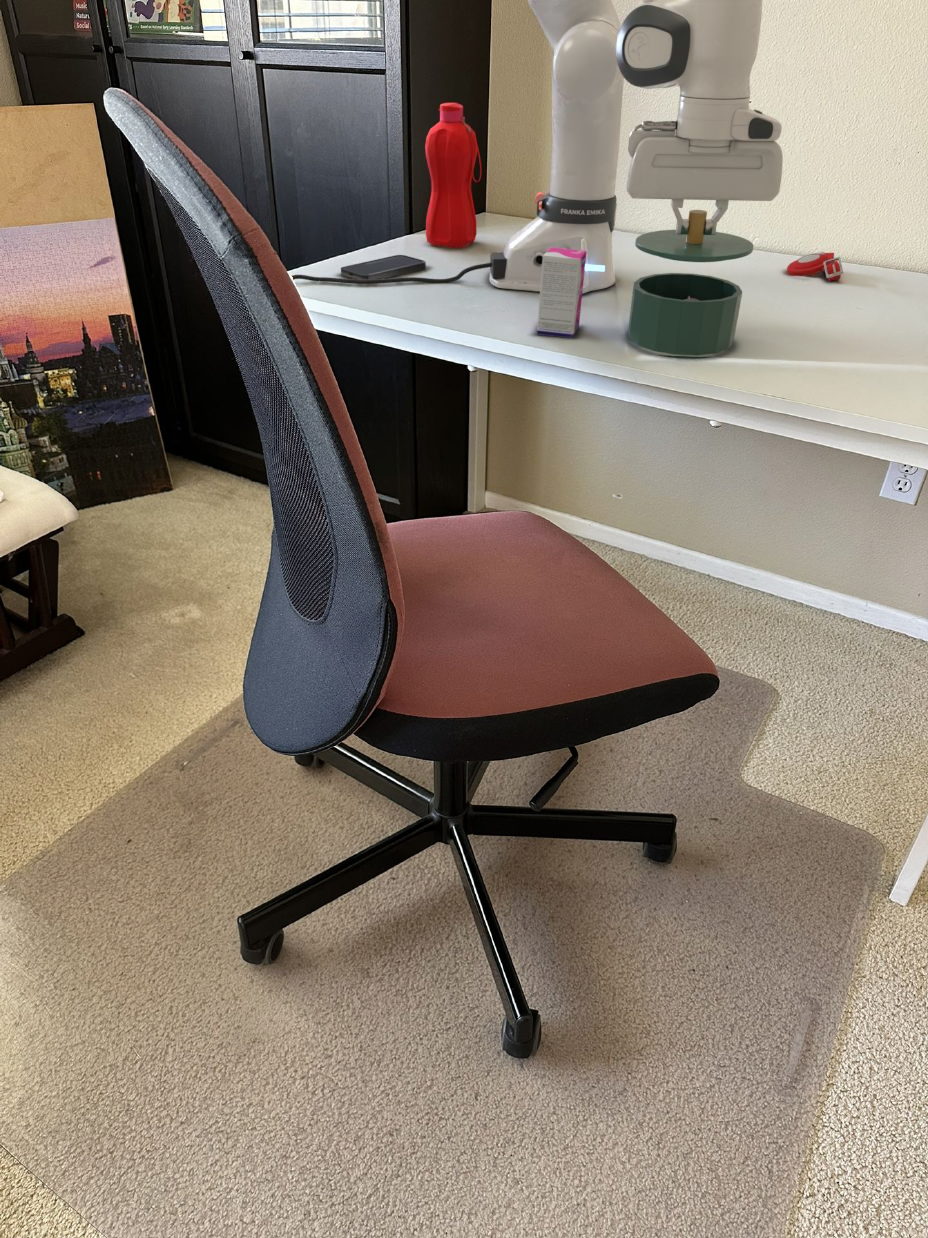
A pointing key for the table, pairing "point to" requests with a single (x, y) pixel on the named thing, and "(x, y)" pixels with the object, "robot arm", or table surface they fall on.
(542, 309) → the supplement box
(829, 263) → the tracker holder
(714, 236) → the tin lid
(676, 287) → the tin
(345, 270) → the phone
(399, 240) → the table surface
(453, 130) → the water bottle
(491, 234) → the table surface
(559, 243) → the robot arm
